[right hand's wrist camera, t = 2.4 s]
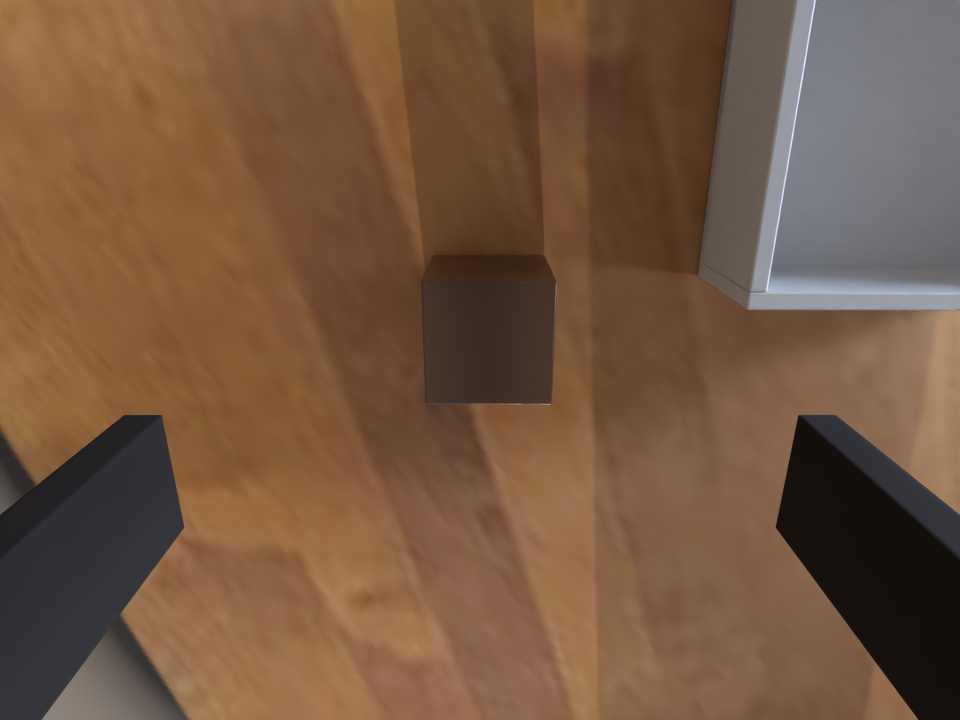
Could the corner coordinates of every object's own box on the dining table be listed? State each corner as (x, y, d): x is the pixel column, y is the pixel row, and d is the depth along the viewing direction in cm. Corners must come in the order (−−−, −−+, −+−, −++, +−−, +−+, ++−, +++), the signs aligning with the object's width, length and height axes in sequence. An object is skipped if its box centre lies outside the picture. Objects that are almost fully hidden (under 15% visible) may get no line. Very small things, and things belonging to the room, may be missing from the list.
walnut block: (545, 255, 24) (557, 280, 20) (541, 361, 26) (551, 404, 22) (432, 255, 24) (421, 280, 20) (435, 360, 26) (425, 404, 22)
